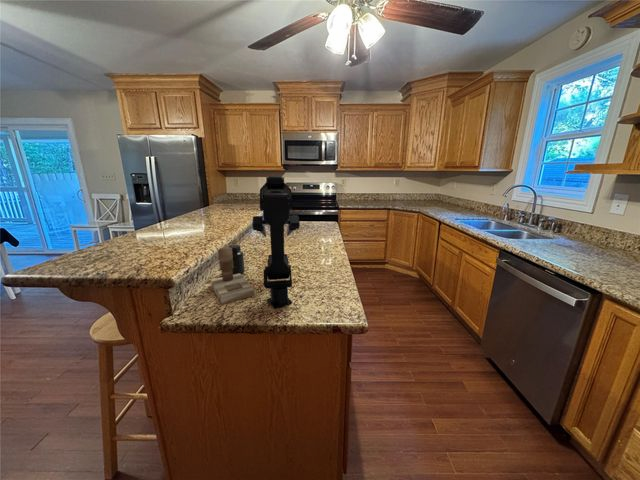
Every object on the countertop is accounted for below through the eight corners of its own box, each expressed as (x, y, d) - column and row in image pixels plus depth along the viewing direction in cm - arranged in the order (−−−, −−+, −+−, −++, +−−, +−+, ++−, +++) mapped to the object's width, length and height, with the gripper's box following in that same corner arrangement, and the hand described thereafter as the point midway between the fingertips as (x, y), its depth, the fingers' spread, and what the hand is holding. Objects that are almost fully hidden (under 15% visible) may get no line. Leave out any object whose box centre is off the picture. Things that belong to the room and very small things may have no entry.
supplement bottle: (247, 272, 107) (246, 246, 104) (233, 277, 102) (230, 249, 99) (239, 268, 111) (237, 242, 108) (225, 273, 107) (222, 246, 103)
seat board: (254, 295, 88) (253, 288, 87) (222, 304, 82) (221, 297, 82) (240, 279, 101) (239, 273, 100) (211, 285, 95) (210, 279, 94)
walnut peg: (236, 280, 94) (233, 249, 91) (222, 283, 92) (219, 252, 88) (232, 275, 98) (229, 246, 95) (219, 278, 95) (216, 248, 92)
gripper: (298, 195, 103) (296, 222, 115) (251, 196, 100) (255, 223, 111) (300, 214, 96) (298, 240, 108) (250, 215, 93) (254, 242, 104)
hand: (276, 236), depth 108 cm, fingers open, 9 cm apart
